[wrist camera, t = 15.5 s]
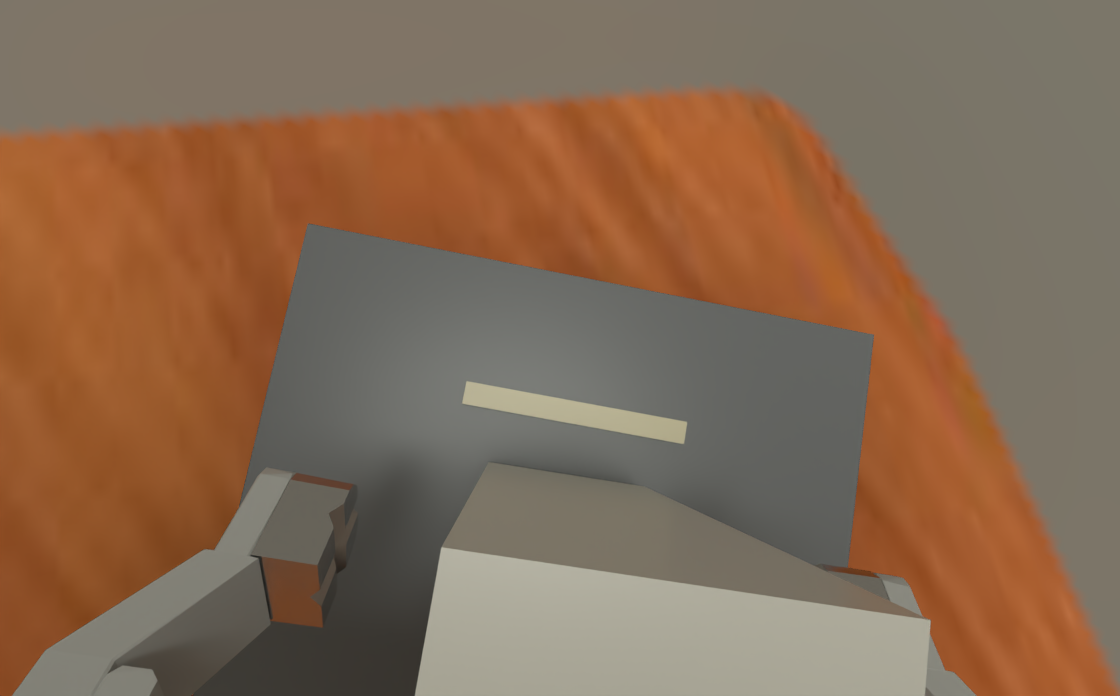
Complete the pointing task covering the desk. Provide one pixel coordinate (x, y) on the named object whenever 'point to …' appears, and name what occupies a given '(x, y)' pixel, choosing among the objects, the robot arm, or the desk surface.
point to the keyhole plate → (528, 426)
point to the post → (645, 603)
